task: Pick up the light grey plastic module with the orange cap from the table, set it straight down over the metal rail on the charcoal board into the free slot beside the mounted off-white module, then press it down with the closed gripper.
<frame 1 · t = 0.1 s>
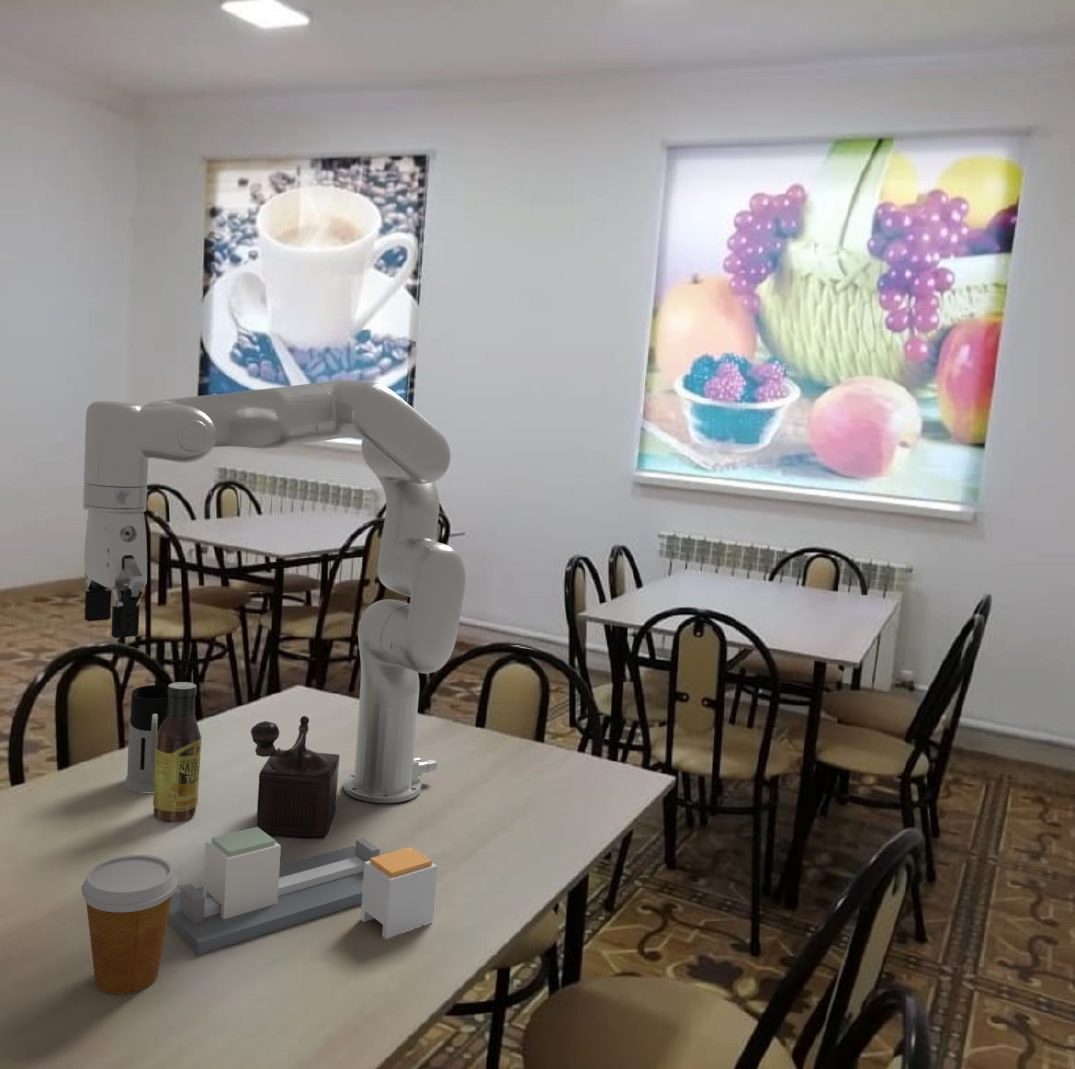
hand: (110, 628, 132), 31 cm above the table, tool pointing down, fingers open, 9 cm apart
sauce bottle: (175, 816, 150), on the table
module: (396, 921, 126), on the table
rail board: (283, 900, 128), on the table
pepper mill: (291, 831, 149), on the table
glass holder: (152, 790, 159), on the table
disposable coffee cup: (126, 979, 109), on the table
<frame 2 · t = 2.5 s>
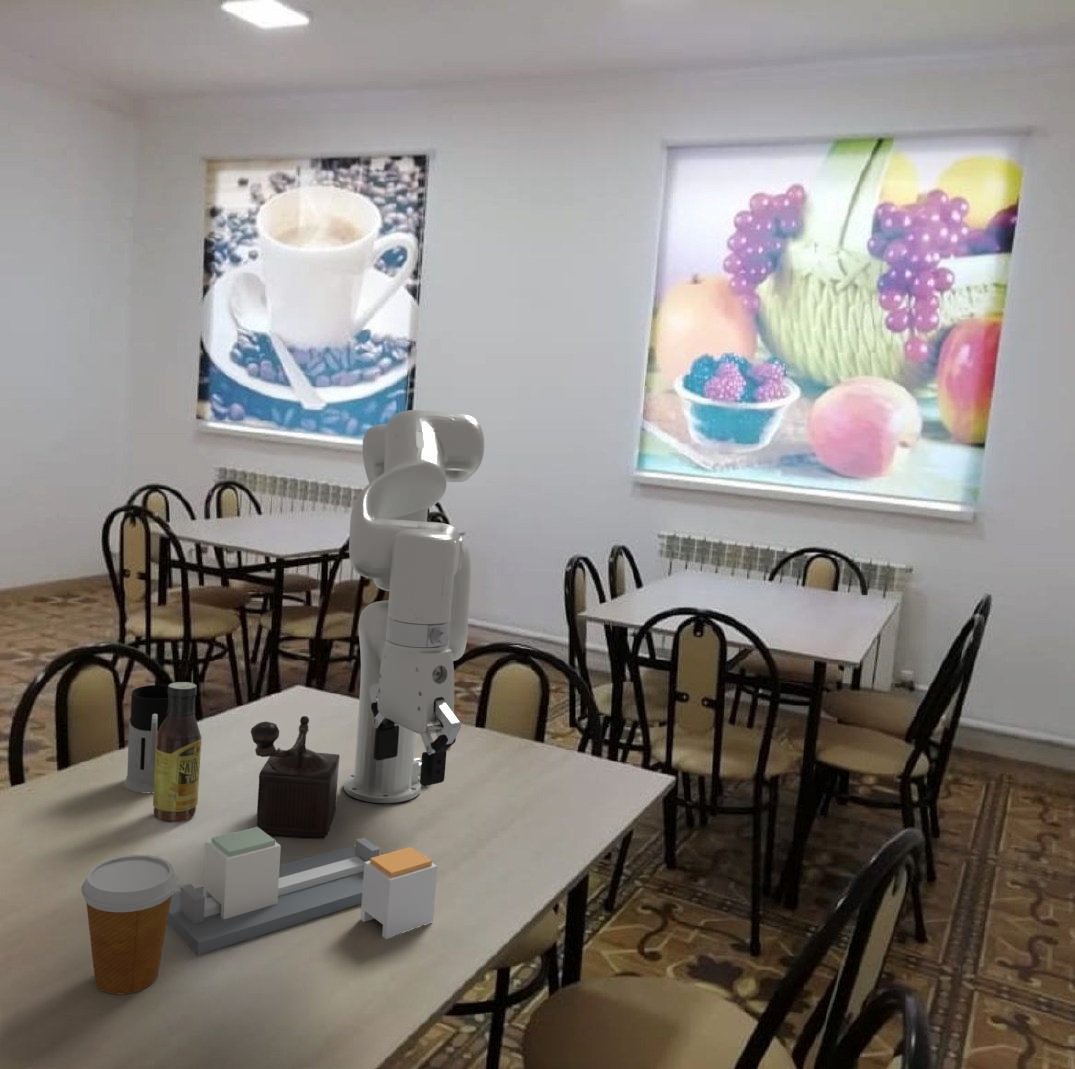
hand: (408, 770, 123), 20 cm above the table, tool pointing down, fingers open, 9 cm apart
nothing on the table moved.
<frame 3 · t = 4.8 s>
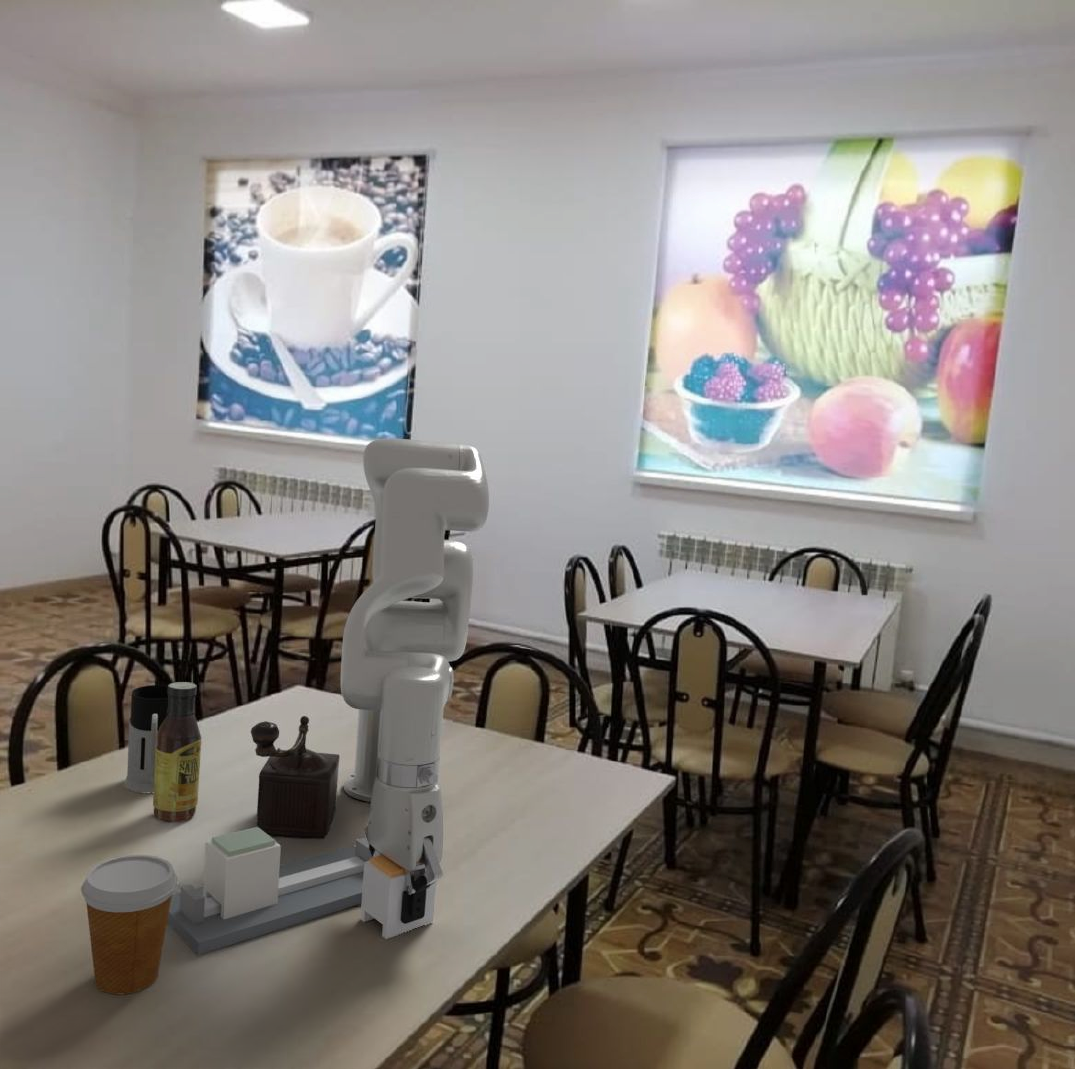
hand: (397, 907, 125), 2 cm above the table, tool pointing down, fingers closed on module, 5 cm apart
module: (396, 921, 125), on the table, touching gripper
everything else where it was.
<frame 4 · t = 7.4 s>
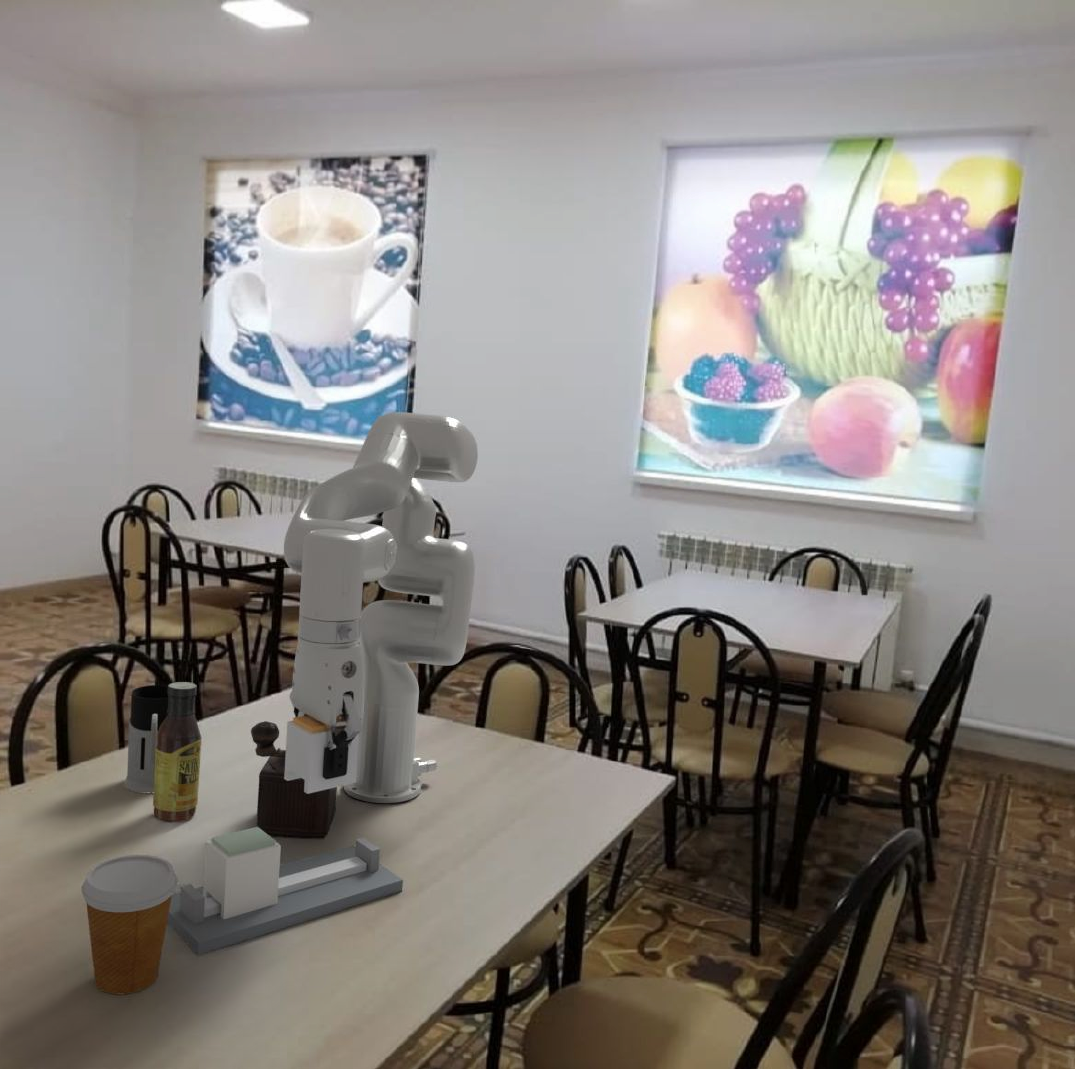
hand: (321, 767, 128), 17 cm above the table, tool pointing down, fingers closed on module, 5 cm apart
module: (320, 780, 128), point 15 cm above the table, touching gripper
everything else where it was.
when the fingers open (4 cm above the table, at t = 10.5 s): module stays where it is, resting on rail board.
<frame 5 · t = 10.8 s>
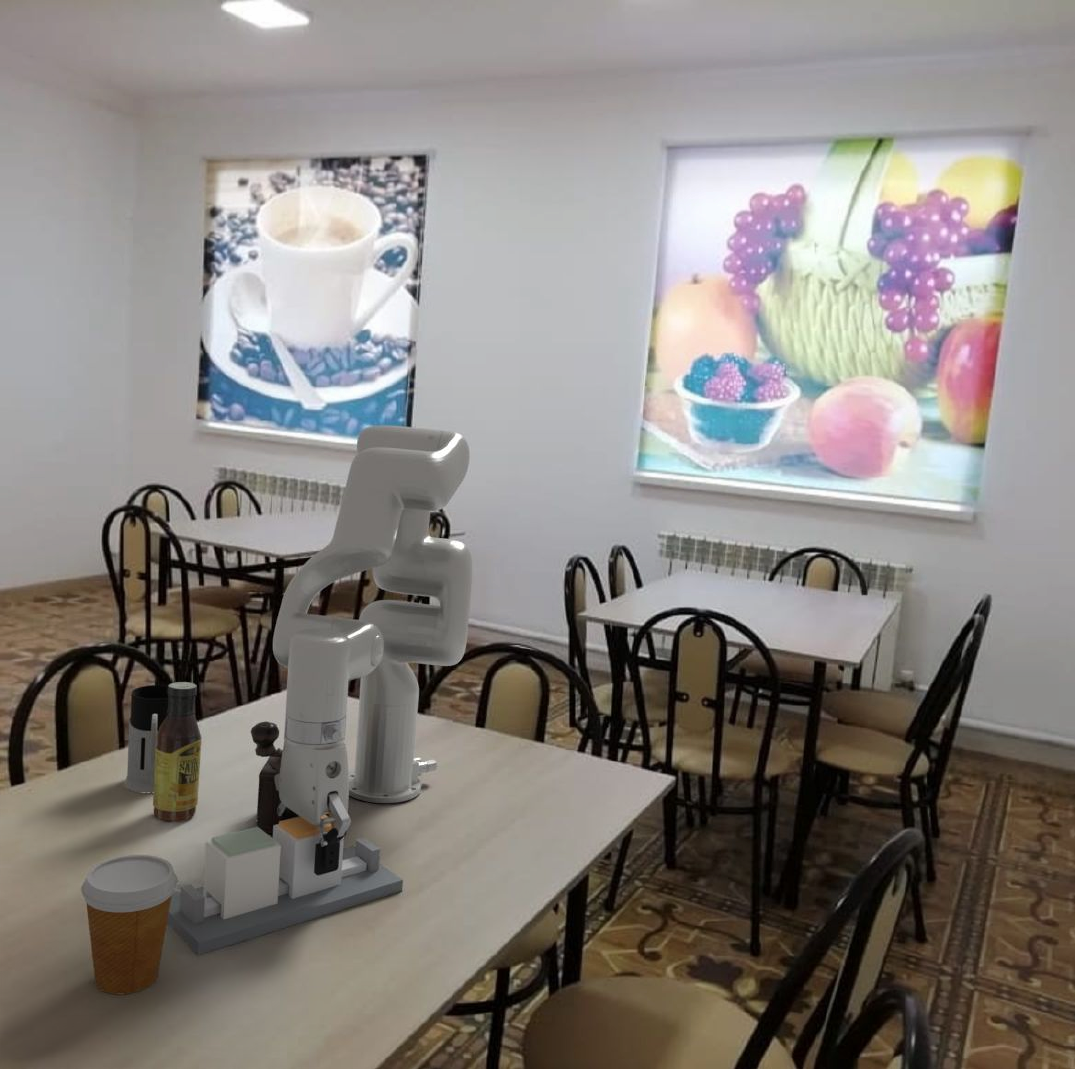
hand: (307, 857, 130), 5 cm above the table, tool pointing down, fingers open, 8 cm apart
module: (305, 882, 130), point 1 cm above the table, touching rail board
everything else where it was.
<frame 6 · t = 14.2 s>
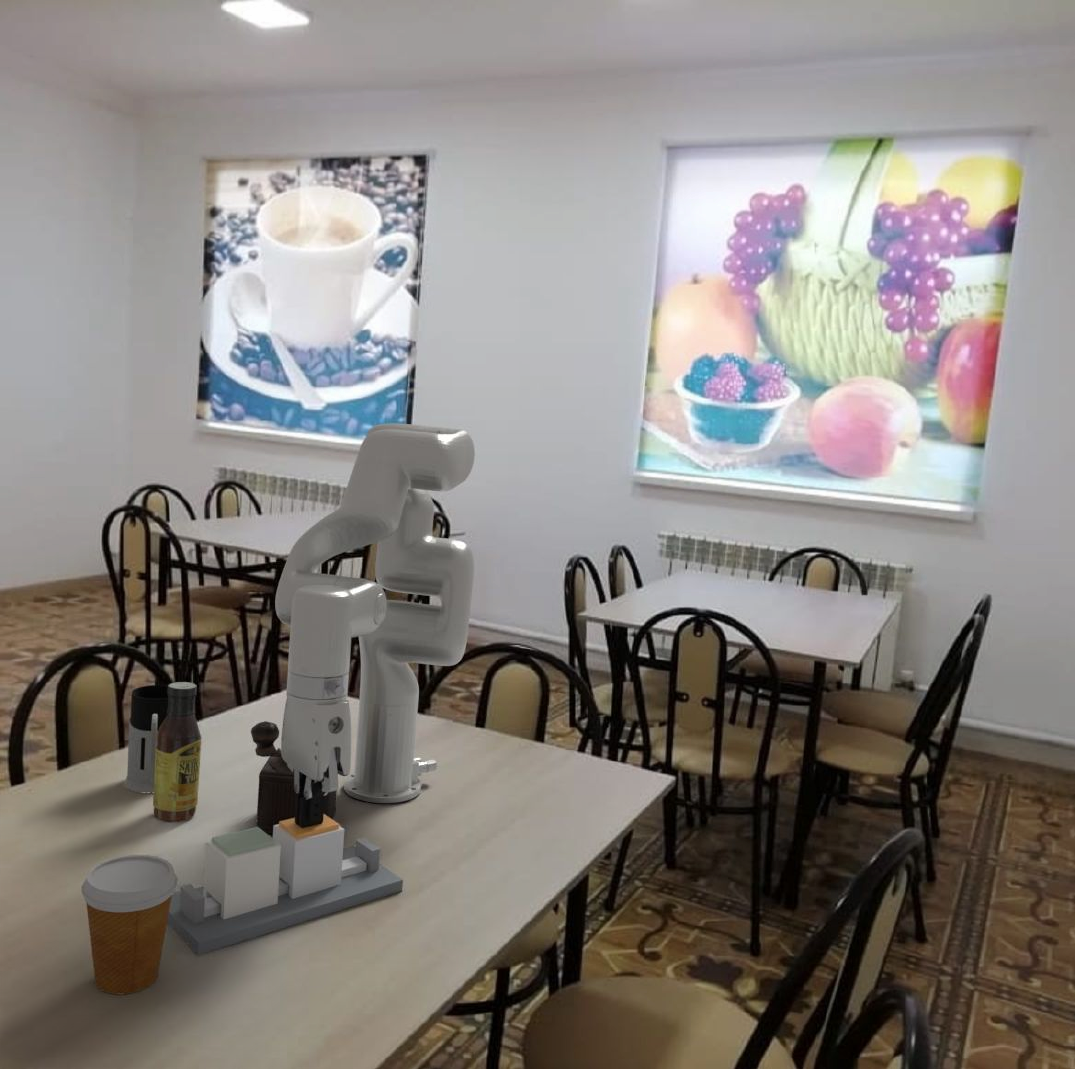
hand: (308, 823, 129), 10 cm above the table, tool pointing down, fingers closed
module: (305, 882, 130), point 2 cm above the table, touching gripper, rail board
everything else where it was.
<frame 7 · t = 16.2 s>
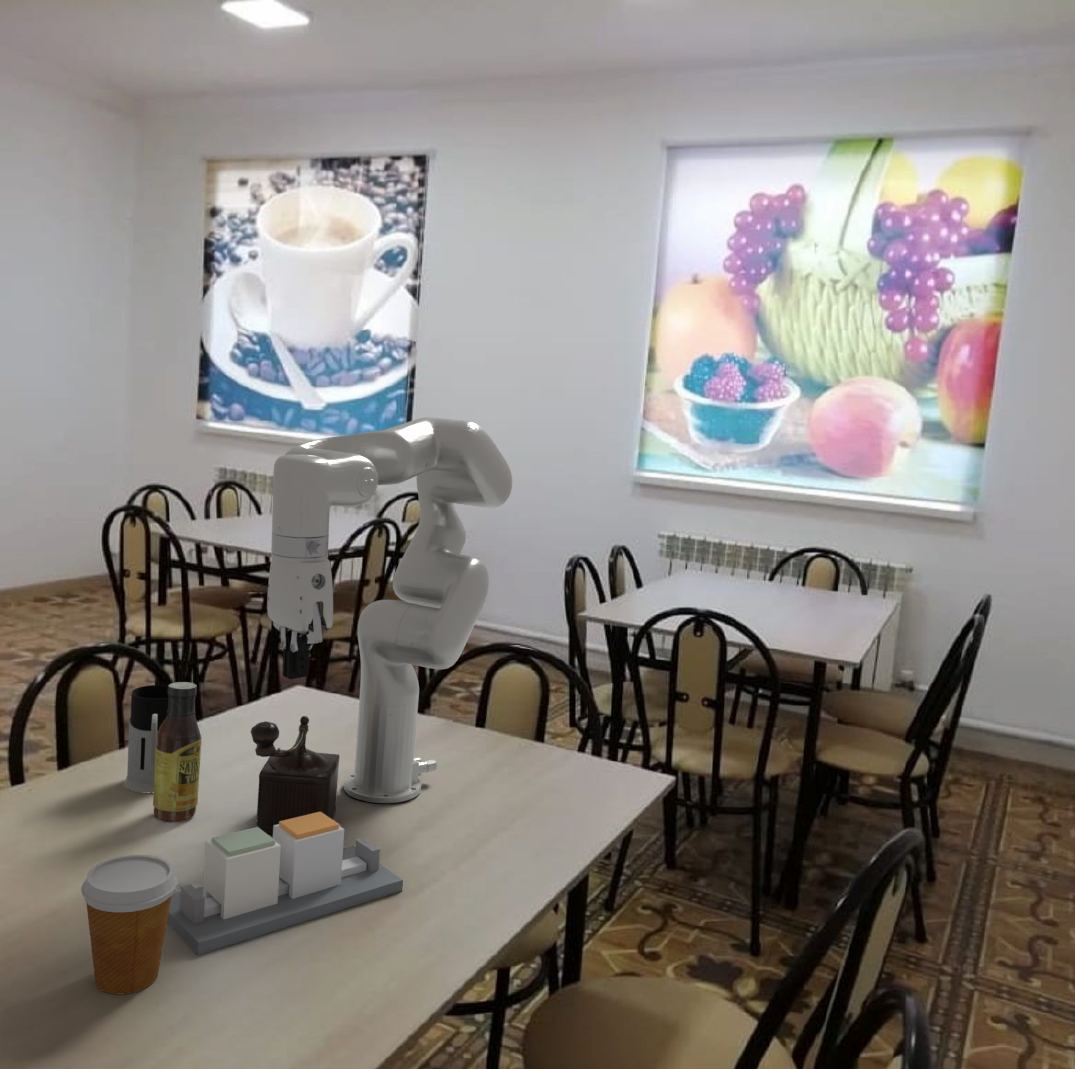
hand: (295, 676, 140), 25 cm above the table, tool pointing down, fingers closed
module: (305, 882, 130), point 1 cm above the table, touching rail board
everything else where it was.
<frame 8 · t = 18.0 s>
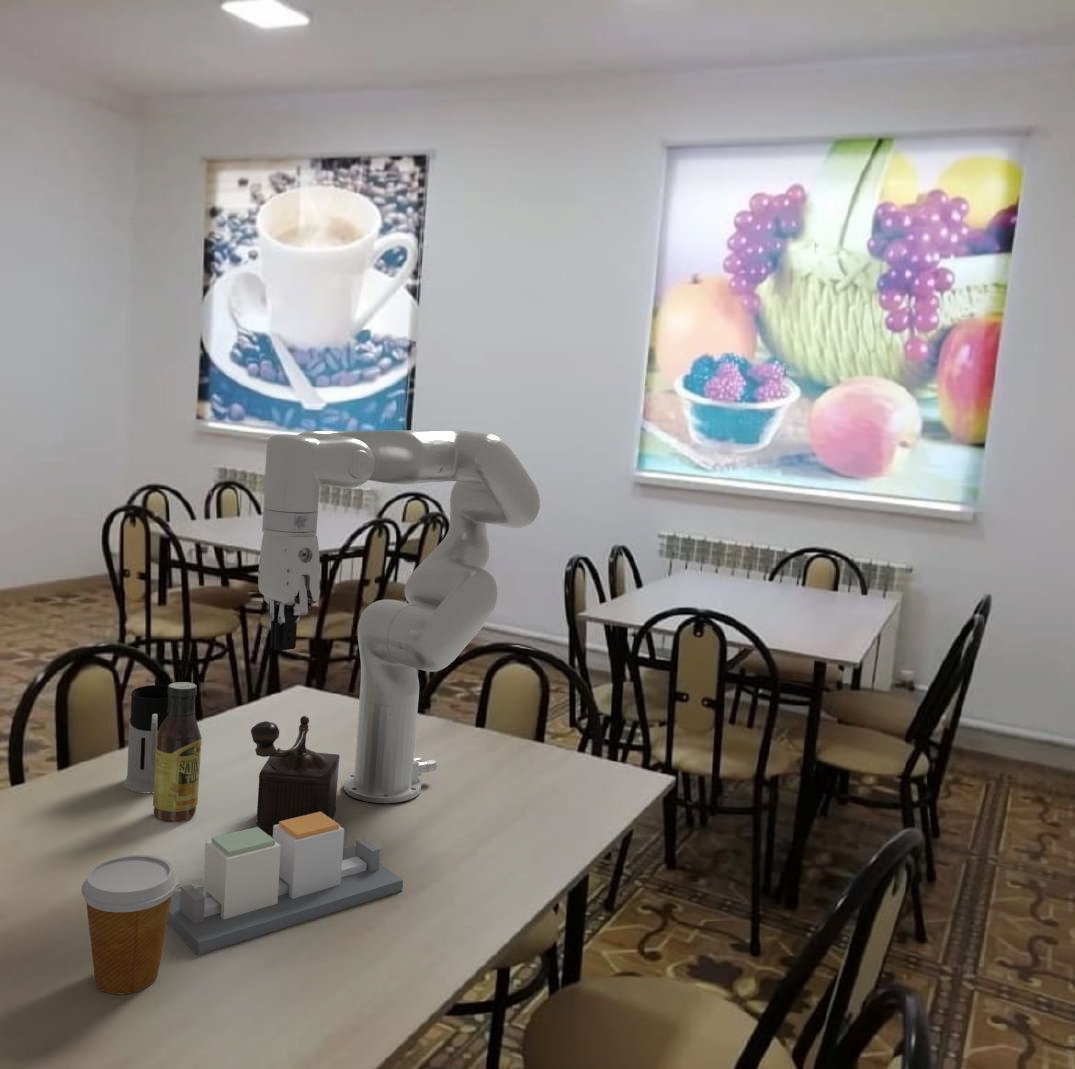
hand: (282, 648, 145), 27 cm above the table, tool pointing down, fingers closed
nothing on the table moved.
at the end: module 0.3 cm from the target spot on the rail board, point 1.5 cm above the rail board's base; module tilted 0°; the gripper is holding nothing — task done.
